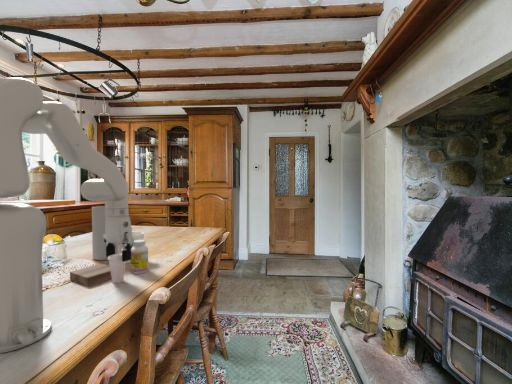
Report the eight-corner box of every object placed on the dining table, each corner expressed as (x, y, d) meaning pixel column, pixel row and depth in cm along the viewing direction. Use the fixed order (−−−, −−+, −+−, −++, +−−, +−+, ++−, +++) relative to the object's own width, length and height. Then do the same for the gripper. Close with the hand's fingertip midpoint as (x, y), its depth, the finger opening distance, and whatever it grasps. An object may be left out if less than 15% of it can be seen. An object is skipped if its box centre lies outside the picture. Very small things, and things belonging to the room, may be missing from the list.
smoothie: (119, 285, 92) (118, 246, 92) (103, 284, 94) (103, 245, 93) (131, 279, 99) (130, 242, 98) (116, 277, 100) (116, 241, 100)
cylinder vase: (127, 255, 130) (126, 206, 130) (101, 262, 120) (100, 208, 119) (112, 252, 137) (112, 205, 136) (87, 258, 126) (86, 207, 125)
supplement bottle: (126, 272, 106) (126, 241, 105) (140, 268, 112) (140, 238, 111) (137, 275, 103) (137, 243, 102) (151, 270, 109) (151, 240, 108)
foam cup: (119, 260, 122) (119, 233, 122) (140, 257, 128) (139, 231, 128) (125, 265, 115) (125, 236, 115) (146, 261, 121) (146, 233, 121)
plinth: (119, 275, 102) (119, 268, 102) (87, 286, 92) (87, 277, 92) (102, 270, 108) (102, 263, 108) (70, 279, 98) (69, 272, 97)
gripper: (141, 213, 95) (142, 259, 96) (113, 210, 103) (114, 252, 104) (122, 215, 88) (123, 265, 89) (93, 212, 97) (95, 257, 98)
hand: (118, 258), depth 97 cm, fingers open, 9 cm apart
